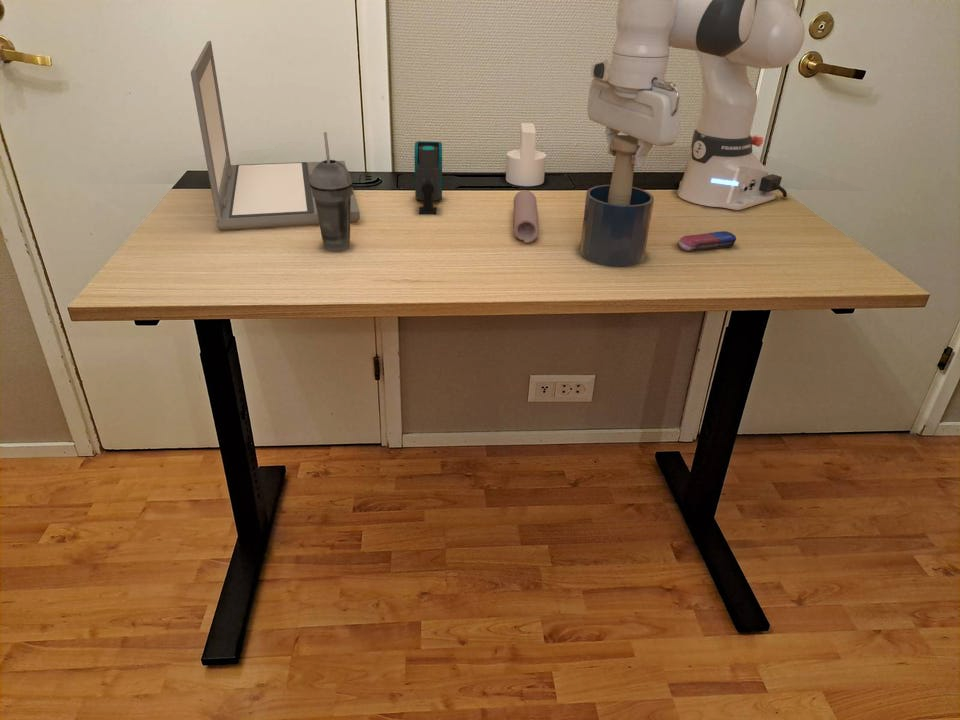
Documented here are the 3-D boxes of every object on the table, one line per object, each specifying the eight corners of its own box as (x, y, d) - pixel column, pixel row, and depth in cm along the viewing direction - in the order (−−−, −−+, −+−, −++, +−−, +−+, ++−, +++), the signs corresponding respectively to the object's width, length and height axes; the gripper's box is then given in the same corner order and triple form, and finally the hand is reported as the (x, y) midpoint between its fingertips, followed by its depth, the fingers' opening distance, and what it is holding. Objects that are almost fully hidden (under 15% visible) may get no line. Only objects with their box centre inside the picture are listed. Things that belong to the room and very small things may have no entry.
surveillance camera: (412, 154, 135) (414, 141, 143) (413, 213, 141) (415, 197, 150) (441, 154, 135) (442, 141, 144) (441, 214, 141) (442, 198, 150)
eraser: (685, 253, 128) (687, 244, 127) (674, 244, 132) (675, 235, 131) (738, 246, 131) (740, 237, 130) (725, 238, 134) (727, 229, 133)
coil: (541, 221, 127) (538, 190, 143) (515, 218, 127) (515, 187, 142) (536, 245, 130) (534, 212, 145) (511, 241, 130) (512, 209, 145)
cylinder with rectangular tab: (545, 186, 159) (549, 133, 153) (506, 185, 159) (508, 132, 153) (542, 175, 167) (546, 123, 160) (505, 173, 167) (507, 122, 160)
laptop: (360, 224, 135) (350, 68, 120) (217, 233, 129) (187, 70, 114) (345, 171, 164) (335, 40, 149) (227, 176, 158) (205, 40, 143)
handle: (624, 218, 127) (636, 135, 119) (633, 231, 121) (647, 145, 114) (598, 218, 127) (609, 134, 119) (606, 231, 121) (618, 144, 113)
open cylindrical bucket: (618, 238, 134) (626, 181, 128) (657, 260, 125) (667, 201, 119) (567, 246, 129) (573, 189, 123) (604, 270, 120) (612, 209, 114)
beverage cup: (322, 257, 121) (311, 141, 111) (311, 242, 127) (299, 130, 116) (362, 250, 124) (355, 137, 114) (349, 236, 130) (341, 127, 119)
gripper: (697, 84, 104) (680, 175, 111) (615, 62, 119) (605, 143, 127) (664, 86, 102) (649, 179, 109) (585, 63, 117) (576, 146, 124)
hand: (625, 159), depth 118 cm, fingers closed on handle, 5 cm apart
